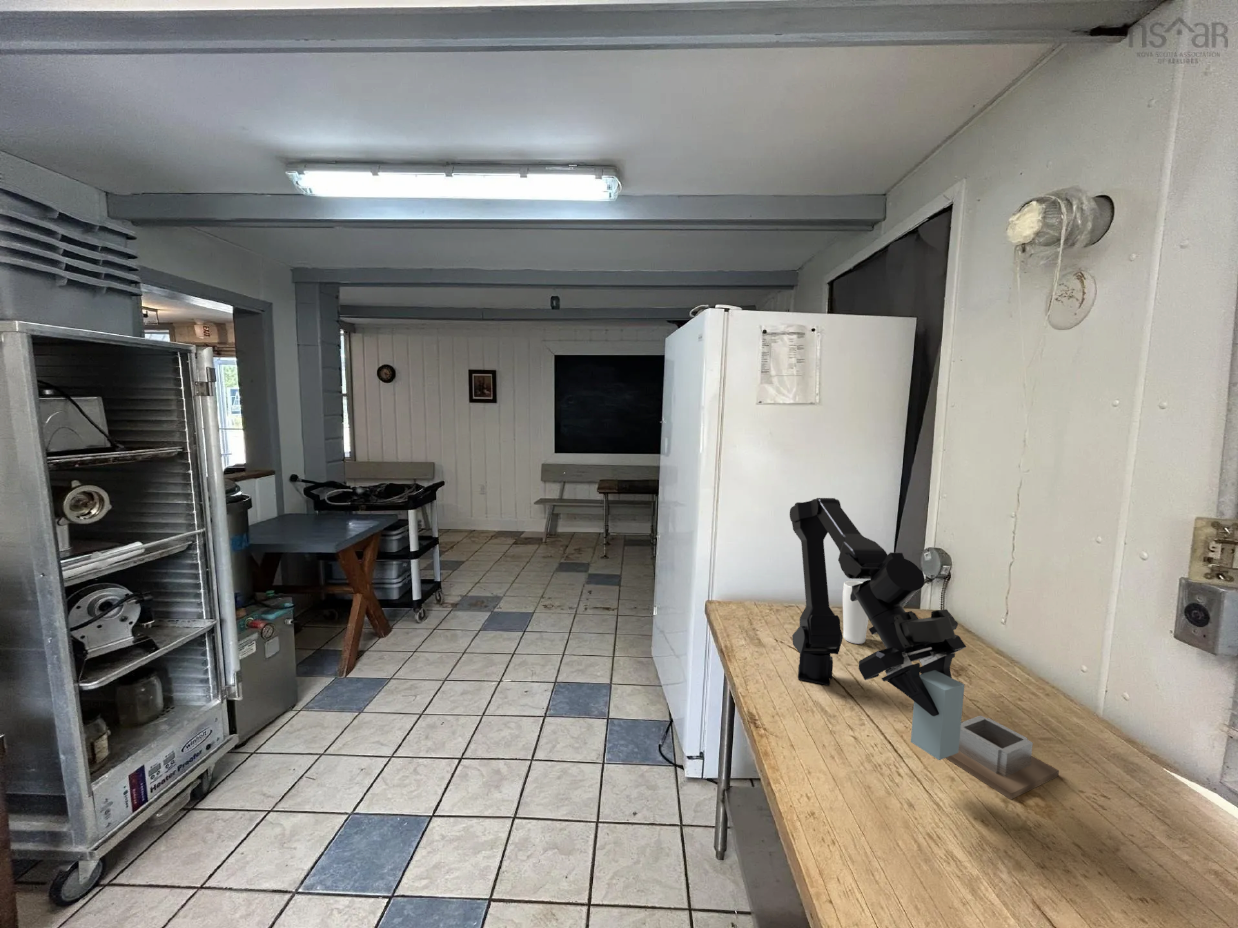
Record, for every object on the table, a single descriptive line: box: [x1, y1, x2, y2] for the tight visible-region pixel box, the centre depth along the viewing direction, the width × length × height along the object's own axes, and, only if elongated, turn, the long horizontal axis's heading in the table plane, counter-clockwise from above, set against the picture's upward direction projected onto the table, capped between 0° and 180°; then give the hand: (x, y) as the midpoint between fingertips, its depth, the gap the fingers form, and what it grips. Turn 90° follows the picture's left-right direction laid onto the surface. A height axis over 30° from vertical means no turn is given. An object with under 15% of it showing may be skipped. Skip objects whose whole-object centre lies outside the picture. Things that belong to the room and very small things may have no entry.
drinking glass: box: [842, 580, 869, 645], centre depth 128 cm, size 7×7×15 cm
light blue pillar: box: [910, 670, 965, 761], centre depth 76 cm, size 4×4×11 cm
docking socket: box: [945, 715, 1060, 800], centre depth 83 cm, size 13×13×5 cm
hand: (946, 711), depth 74 cm, fingers closed on light blue pillar, 4 cm apart
